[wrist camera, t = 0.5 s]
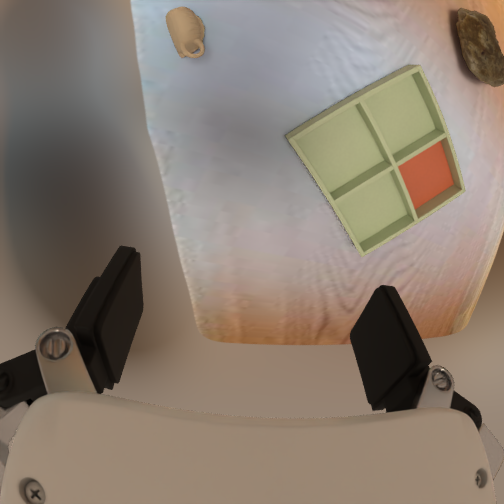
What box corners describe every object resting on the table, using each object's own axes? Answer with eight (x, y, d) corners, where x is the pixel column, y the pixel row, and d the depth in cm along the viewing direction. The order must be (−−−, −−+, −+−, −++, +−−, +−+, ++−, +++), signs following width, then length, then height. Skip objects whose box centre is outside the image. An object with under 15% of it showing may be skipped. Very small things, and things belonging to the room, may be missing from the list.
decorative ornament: (196, 4, 24) (187, -8, 20) (214, 58, 28) (207, 53, 24) (165, 15, 25) (152, 6, 20) (182, 68, 29) (172, 66, 25)
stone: (504, 88, 25) (514, 91, 20) (464, 81, 30) (466, 83, 25) (492, 18, 18) (498, 9, 13) (450, 13, 23) (450, 3, 18)
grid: (409, 64, 28) (420, 64, 25) (455, 184, 37) (465, 191, 35) (284, 135, 34) (287, 140, 32) (355, 246, 44) (361, 257, 41)
